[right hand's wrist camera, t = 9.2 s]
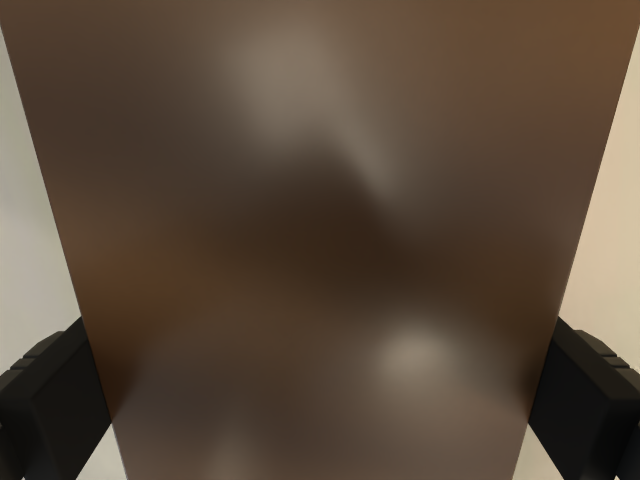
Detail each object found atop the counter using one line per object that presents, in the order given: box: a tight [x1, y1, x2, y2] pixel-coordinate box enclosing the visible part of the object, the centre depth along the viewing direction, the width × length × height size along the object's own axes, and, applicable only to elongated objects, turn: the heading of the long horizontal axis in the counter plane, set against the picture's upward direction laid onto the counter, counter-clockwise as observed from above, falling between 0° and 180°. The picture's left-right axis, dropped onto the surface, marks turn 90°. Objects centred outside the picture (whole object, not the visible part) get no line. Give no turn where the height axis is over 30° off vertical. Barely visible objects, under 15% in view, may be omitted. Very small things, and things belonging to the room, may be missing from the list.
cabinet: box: [0, 0, 640, 480], centre depth 12 cm, size 21×11×10 cm, turn 0°
